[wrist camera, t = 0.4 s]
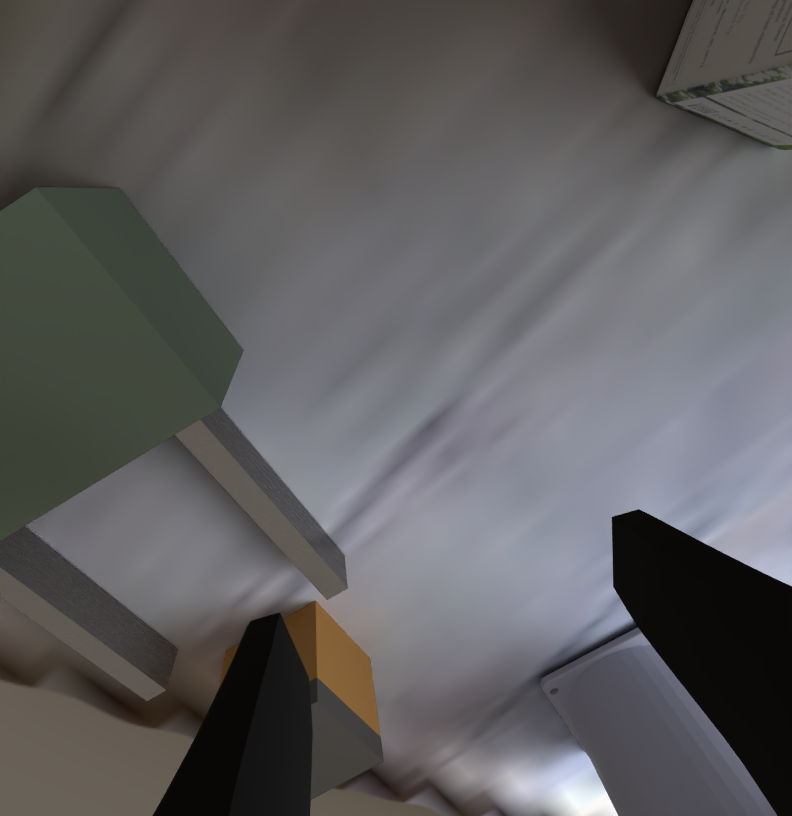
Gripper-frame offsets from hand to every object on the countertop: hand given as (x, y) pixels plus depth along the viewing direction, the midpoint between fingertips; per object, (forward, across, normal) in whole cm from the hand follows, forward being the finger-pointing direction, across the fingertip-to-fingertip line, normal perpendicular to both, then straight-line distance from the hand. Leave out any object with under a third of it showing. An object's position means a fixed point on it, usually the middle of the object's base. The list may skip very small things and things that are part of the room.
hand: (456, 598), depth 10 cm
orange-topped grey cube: (+10, +7, +12) cm, 17 cm away
